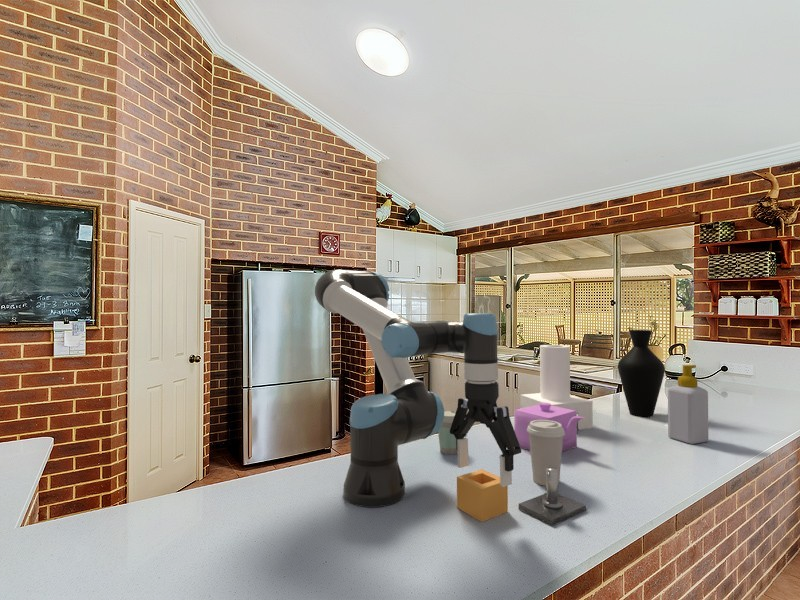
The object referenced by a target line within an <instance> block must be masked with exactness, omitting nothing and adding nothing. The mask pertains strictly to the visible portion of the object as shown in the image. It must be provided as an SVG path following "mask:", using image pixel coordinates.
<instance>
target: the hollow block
mask: <svg viewBox="0 0 800 600" xmlns="http://www.w3.org/2000/svg"><path fill="white" fill-rule="evenodd" d="M508 486H509V485H508ZM508 486H505V487H502V486H500V475H496V474H494V473H492V472H490V471H487V470H485V469H484V468H483V469H478V470H475V471H471V472H468V473H465V474H464V473H463V474H461V475H458V476H456V508H457V509H459V510H461V511H463V512H464V513H466V514H467V515H469V516H471V517H473V518H475V520H478V521H479V522H485V521H487V520H490V519H493V518H495V517H498V516H501V515H503V514H507V513H508V512H509V509H508V508H509V507H508V506H509V505H508V503H509V497H508V495H509V494H508V493H509V492H508V488H509V487H508Z"/></svg>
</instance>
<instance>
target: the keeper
mask: <svg viewBox="0 0 800 600" xmlns="http://www.w3.org/2000/svg"><path fill="white" fill-rule="evenodd" d="M546 484H547V486H546V492H545V493H542V494H540V495H538V496H535V497H533V498H530V499H527V500H525V501H523V502H522V501H521V502H520V503H518V510H519V511H521V512H524V513H526V514H528V515H530V516H532V517H533V518H535V519H538V520H539V521H542V522H543V523H546V524H547V525H550V526H552V527H553V526H555V525H558V524H560V523H561V522H564V521H566V520H569V519H570V518H573V517H575V516H577V515H579V514H581V513H584V512H586V511H587V505H586V504H585V503H582V502H579V501H577V500H574V499H572V498H570V497H568V496H565V495H563V494H561V493H559V489H558V488H559V486H558V485H559V484H558V469H557V468H554V467H547V468H546Z"/></svg>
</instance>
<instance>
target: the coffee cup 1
mask: <svg viewBox="0 0 800 600" xmlns="http://www.w3.org/2000/svg"><path fill="white" fill-rule="evenodd" d="M455 413H456V410H452V409H451V410H445V409H444V419H443V425H442V427H441V429H440V430H439V431H438V432H437V434H438V435H437V436H438V442H439V449H440V453H442V454H445V455H456V454H458V452H457V450H456V438H455V436H454V435H453V434H450V428H451V425H452V422H453V419H454V416H455Z"/></svg>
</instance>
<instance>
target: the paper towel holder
mask: <svg viewBox="0 0 800 600" xmlns="http://www.w3.org/2000/svg"><path fill="white" fill-rule="evenodd" d="M539 375H540V376H539V380H540V382H539V383H540V384H539V387H540V391H539V392H536V393H524V394H520V397H519V398H520V405H519V406H520V408H525V407H530V406H534V405H538V404H539V403H550V404H551V406H556V407H561V408H565V409H570V410H575V411H577V416H579V417H584V419H581V420H579V421H578V422H577V430H578V429H579V430H586V429H585V428H588V429H593V427H594V425H593V424H594V421H593V420H594V419H593V418H594V417H593V416H594V414H593V413H594V411H593V410H594V409H593V404H594V403H593V400H590V399H588V398H587V399H586V398H583V397H580V396H578V395H577V396H576V395H573V394H571V346H569V345H565V344H564V345H563V344H540V345H539ZM520 408H519V409H520Z"/></svg>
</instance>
